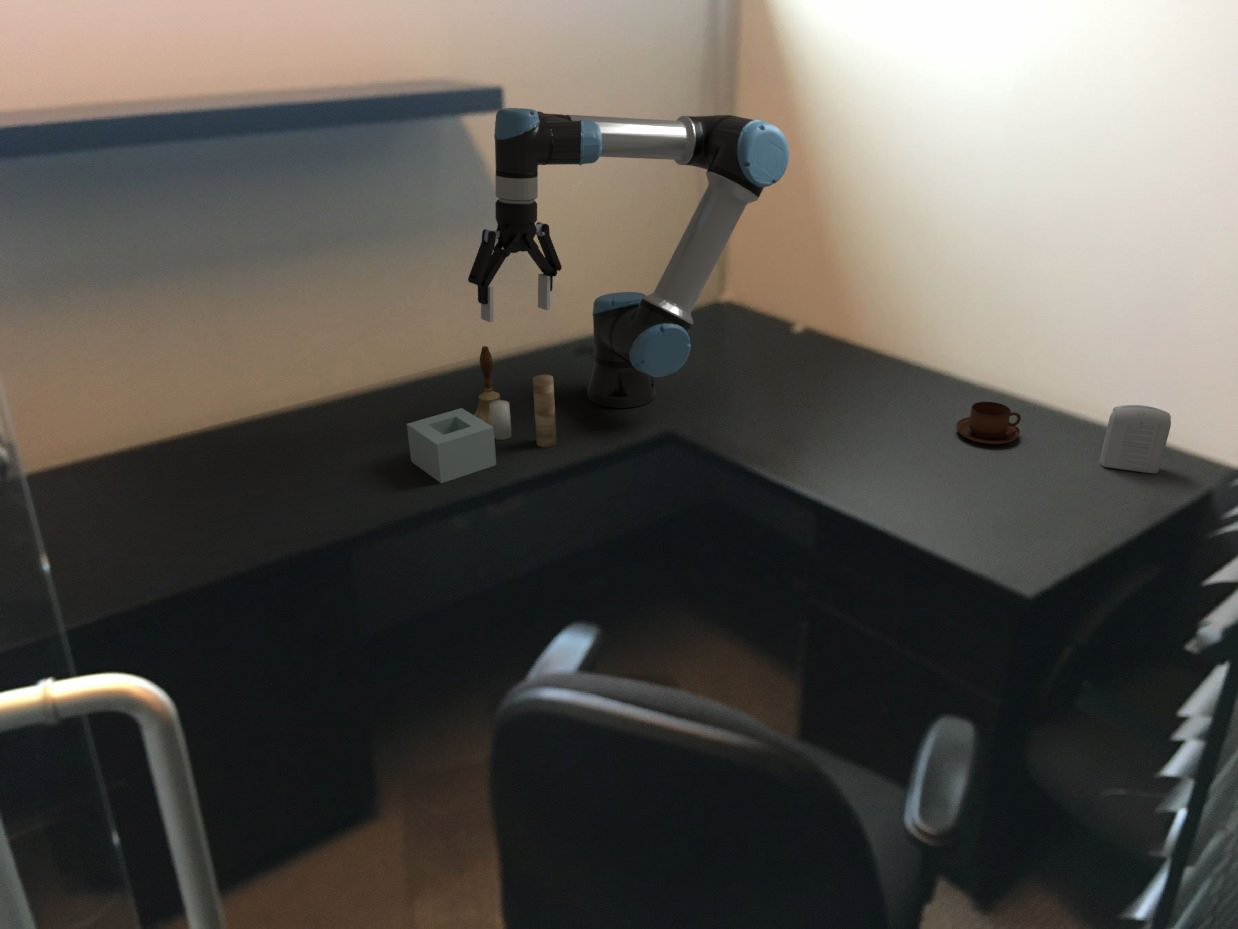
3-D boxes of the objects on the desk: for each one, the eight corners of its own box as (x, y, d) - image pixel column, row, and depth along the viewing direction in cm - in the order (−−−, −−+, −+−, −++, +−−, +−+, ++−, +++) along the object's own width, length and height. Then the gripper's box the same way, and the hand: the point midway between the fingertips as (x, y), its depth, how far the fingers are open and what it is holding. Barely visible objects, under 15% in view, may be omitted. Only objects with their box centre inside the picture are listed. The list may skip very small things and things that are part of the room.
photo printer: (1157, 466, 187) (1172, 405, 181) (1160, 476, 183) (1176, 414, 178) (1097, 458, 190) (1111, 398, 185) (1099, 468, 187) (1113, 407, 181)
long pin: (549, 437, 203) (545, 372, 197) (560, 443, 200) (557, 378, 194) (532, 442, 201) (528, 377, 195) (543, 449, 198) (540, 383, 192)
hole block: (465, 444, 201) (461, 407, 197) (496, 465, 192) (493, 427, 188) (411, 461, 194) (406, 423, 190) (441, 483, 185) (437, 444, 182)
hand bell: (463, 422, 211) (457, 350, 204) (486, 408, 217) (480, 338, 210) (496, 429, 207) (490, 356, 200) (518, 414, 214) (513, 344, 207)
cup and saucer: (991, 421, 207) (996, 393, 204) (1031, 443, 197) (1036, 415, 194) (942, 430, 203) (946, 402, 201) (981, 453, 193) (985, 424, 191)
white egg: (504, 429, 207) (502, 398, 204) (515, 436, 204) (512, 404, 201) (488, 435, 205) (485, 403, 201) (498, 441, 202) (496, 409, 199)
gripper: (555, 190, 190) (553, 299, 199) (446, 202, 174) (449, 320, 182) (581, 196, 185) (578, 308, 194) (472, 209, 169) (474, 330, 178)
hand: (516, 314), depth 188 cm, fingers open, 13 cm apart
